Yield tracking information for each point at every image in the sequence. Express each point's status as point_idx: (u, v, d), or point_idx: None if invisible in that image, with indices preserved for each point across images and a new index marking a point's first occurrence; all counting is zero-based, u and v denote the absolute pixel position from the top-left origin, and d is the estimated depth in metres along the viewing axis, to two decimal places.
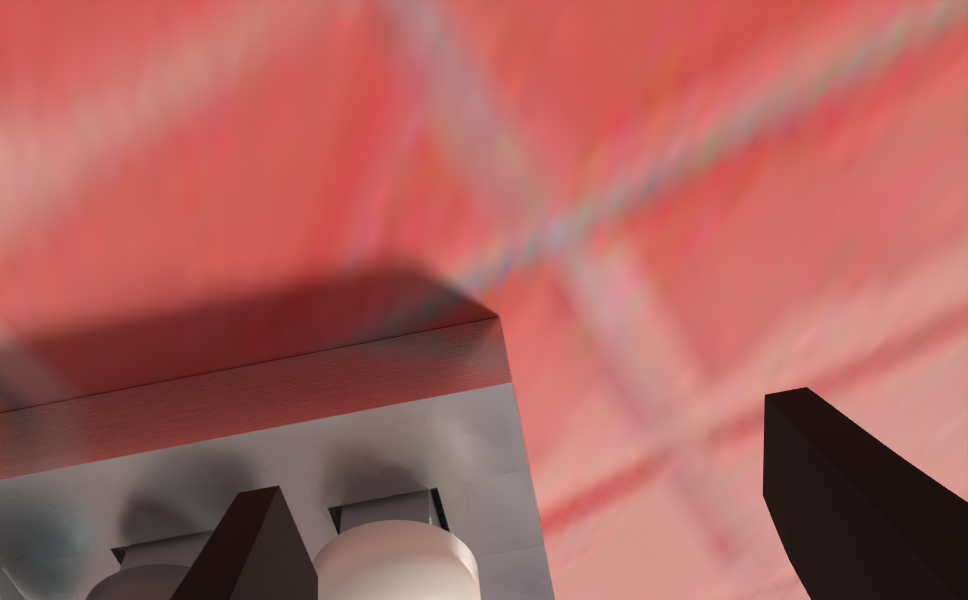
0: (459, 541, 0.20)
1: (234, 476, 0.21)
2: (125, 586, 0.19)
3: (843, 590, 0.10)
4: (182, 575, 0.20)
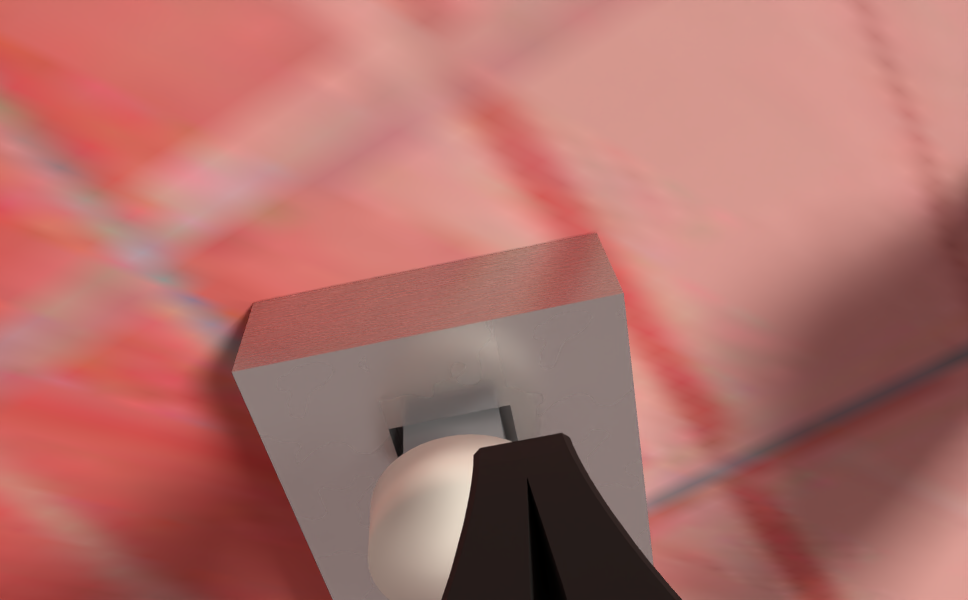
0: (401, 456, 0.18)
1: None
2: None
3: None
4: None
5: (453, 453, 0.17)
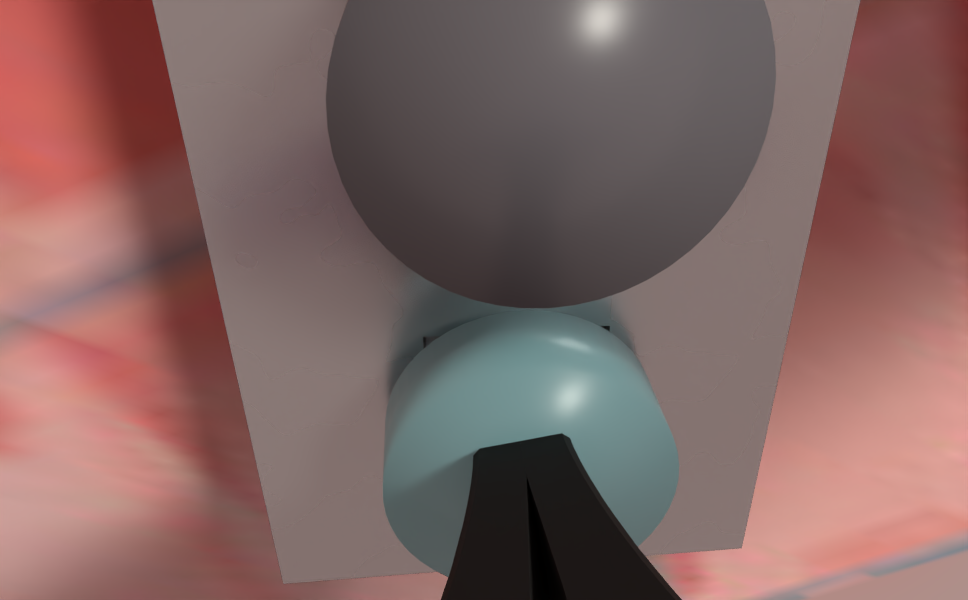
0: None
1: None
2: None
3: None
4: None
5: None
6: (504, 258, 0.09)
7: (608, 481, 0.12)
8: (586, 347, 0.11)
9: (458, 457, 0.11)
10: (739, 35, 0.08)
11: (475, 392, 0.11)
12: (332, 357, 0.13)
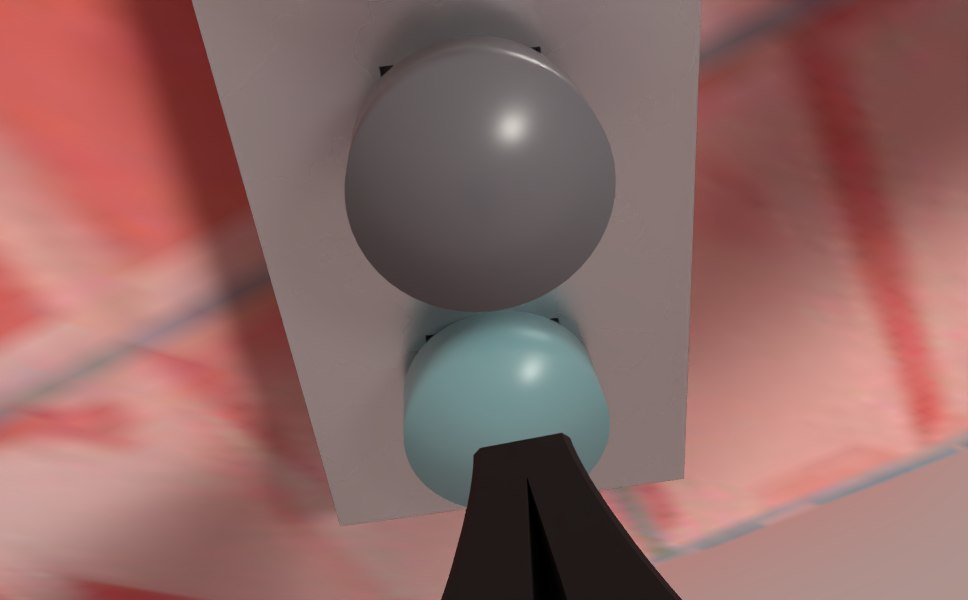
0: None
1: (274, 21, 0.14)
2: None
3: None
4: (355, 122, 0.13)
5: None
6: (462, 282, 0.14)
7: (560, 426, 0.17)
8: (535, 334, 0.16)
9: (453, 416, 0.17)
10: (586, 140, 0.13)
11: (459, 369, 0.16)
12: (362, 354, 0.18)
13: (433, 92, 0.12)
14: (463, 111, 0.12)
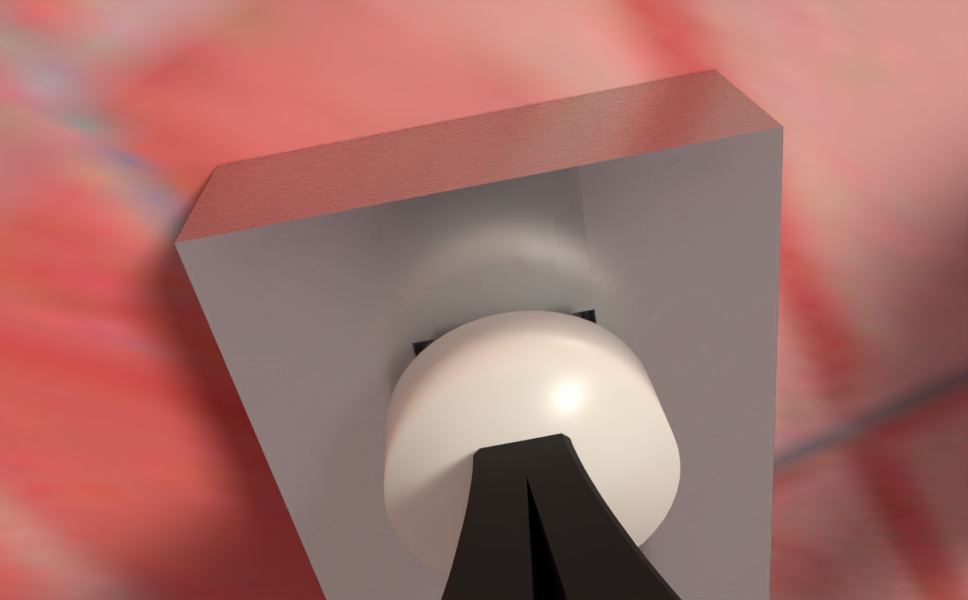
0: (435, 343, 0.12)
1: (383, 564, 0.16)
2: None
3: None
4: None
5: (514, 333, 0.11)
6: None
7: None
8: None
9: None
10: None
11: None
12: None
13: None
14: None
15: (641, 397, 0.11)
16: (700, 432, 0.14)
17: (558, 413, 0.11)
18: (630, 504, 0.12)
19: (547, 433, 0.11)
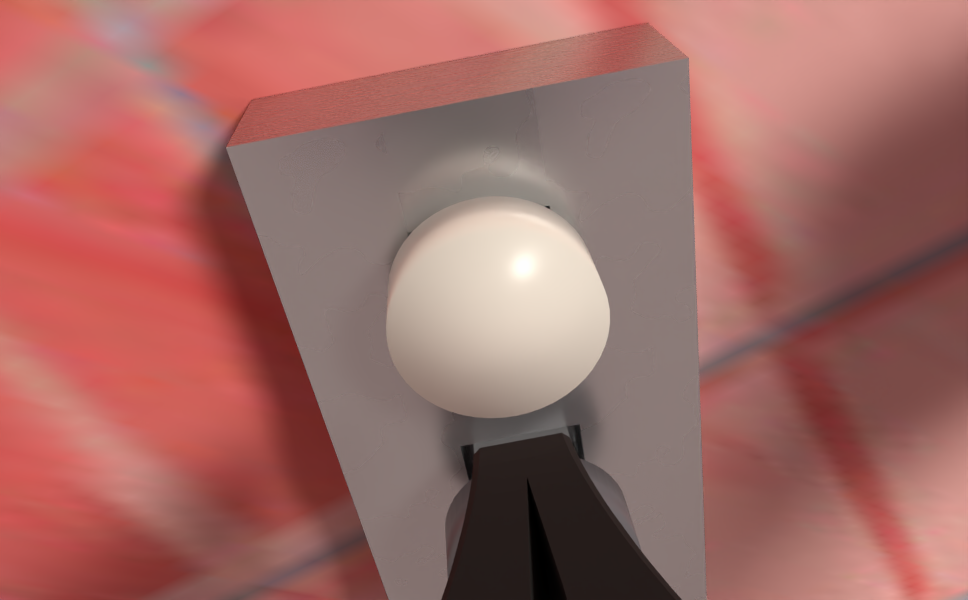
0: (425, 222, 0.16)
1: (383, 427, 0.19)
2: None
3: None
4: (450, 514, 0.18)
5: (483, 209, 0.15)
6: None
7: None
8: None
9: None
10: None
11: None
12: None
13: None
14: None
15: (577, 253, 0.15)
16: (637, 312, 0.18)
17: (516, 266, 0.15)
18: (573, 344, 0.16)
19: (508, 283, 0.15)
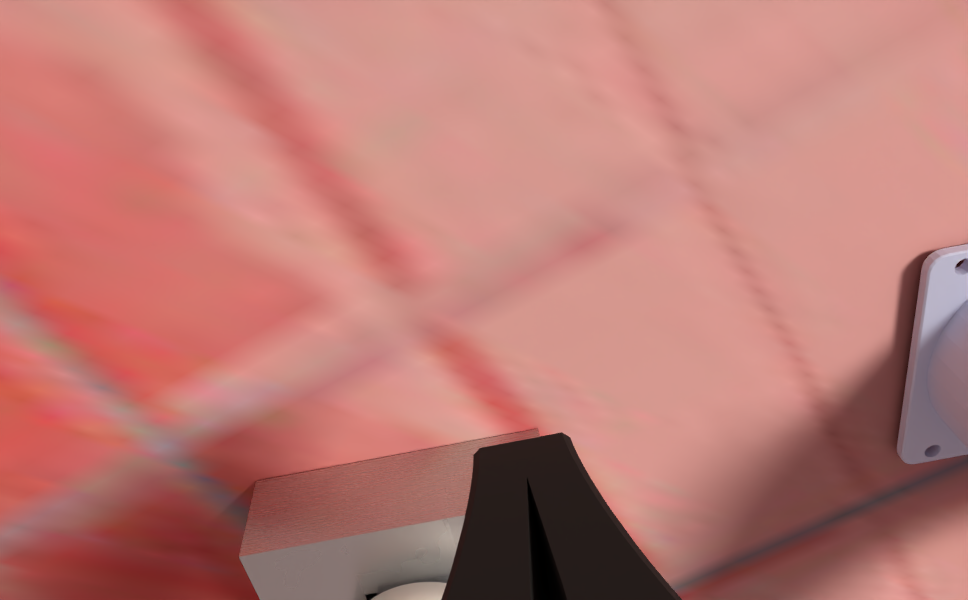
0: (375, 598, 0.23)
1: None
2: None
3: None
4: None
5: (414, 599, 0.22)
6: None
7: None
8: None
9: None
10: None
11: None
12: None
13: None
14: None
15: None
16: None
17: None
18: None
19: None
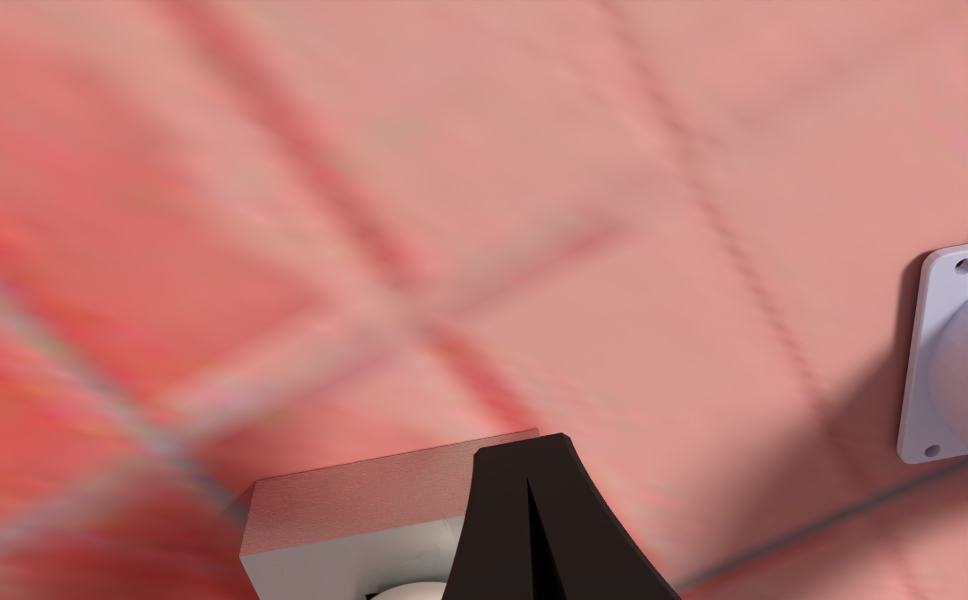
0: (375, 598, 0.23)
1: None
2: None
3: None
4: None
5: (414, 599, 0.22)
6: None
7: None
8: None
9: None
10: None
11: None
12: None
13: None
14: None
15: None
16: None
17: None
18: None
19: None
